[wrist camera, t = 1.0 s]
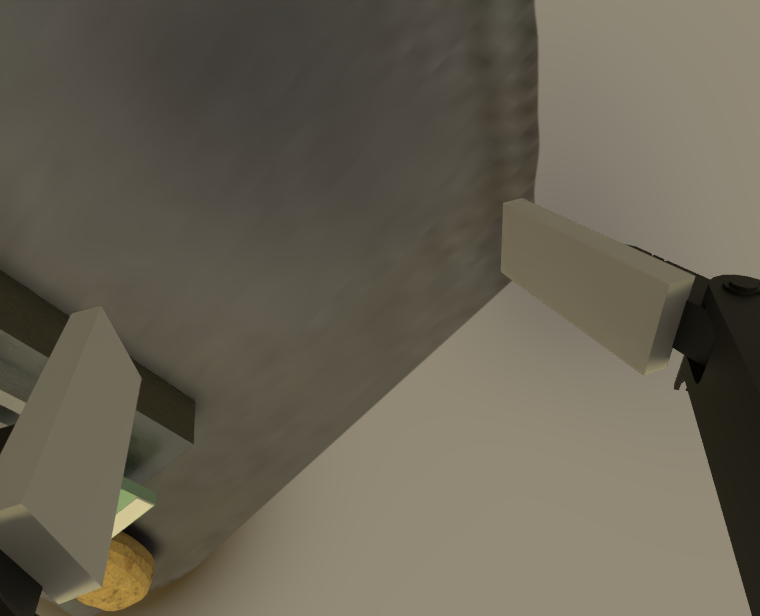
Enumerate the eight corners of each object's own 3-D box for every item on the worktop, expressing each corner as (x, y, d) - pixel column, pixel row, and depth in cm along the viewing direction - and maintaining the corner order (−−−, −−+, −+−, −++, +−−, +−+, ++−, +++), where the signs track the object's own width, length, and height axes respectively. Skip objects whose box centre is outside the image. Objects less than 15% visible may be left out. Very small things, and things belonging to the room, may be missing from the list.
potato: (115, 575, 51) (105, 632, 46) (45, 531, 45) (25, 591, 40) (168, 547, 52) (164, 600, 47) (107, 499, 46) (95, 555, 41)
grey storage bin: (-227, 330, 30) (-359, 412, 23) (-85, 213, 29) (-175, 260, 22) (96, 478, 44) (76, 556, 37) (194, 401, 44) (192, 465, 37)
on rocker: (19, 491, 32) (12, 506, 31) (70, 451, 32) (65, 465, 31) (112, 527, 37) (108, 542, 36) (156, 492, 37) (155, 506, 36)
